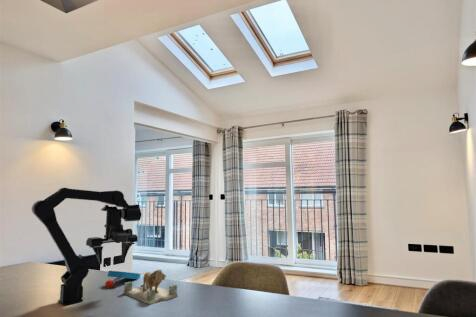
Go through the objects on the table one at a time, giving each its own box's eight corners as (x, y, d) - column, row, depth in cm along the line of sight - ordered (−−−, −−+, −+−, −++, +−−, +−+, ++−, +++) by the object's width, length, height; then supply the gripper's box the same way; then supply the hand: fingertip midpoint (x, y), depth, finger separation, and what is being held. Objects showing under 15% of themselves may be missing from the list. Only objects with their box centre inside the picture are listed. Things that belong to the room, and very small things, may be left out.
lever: (124, 288, 148) (99, 287, 133) (128, 272, 151) (103, 269, 135) (137, 290, 146) (112, 289, 131) (140, 273, 149) (116, 271, 133)
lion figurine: (167, 294, 121) (167, 269, 122) (155, 297, 117) (155, 271, 118) (146, 286, 131) (146, 264, 132) (134, 289, 127) (135, 266, 128)
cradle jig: (149, 304, 112) (149, 292, 113) (123, 293, 125) (123, 282, 126) (177, 296, 121) (177, 285, 122) (150, 286, 134) (150, 277, 135)
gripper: (99, 224, 115) (97, 269, 113) (145, 221, 129) (144, 261, 127) (86, 223, 123) (84, 265, 121) (131, 220, 136) (130, 258, 134)
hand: (112, 262), depth 126 cm, fingers open, 9 cm apart
